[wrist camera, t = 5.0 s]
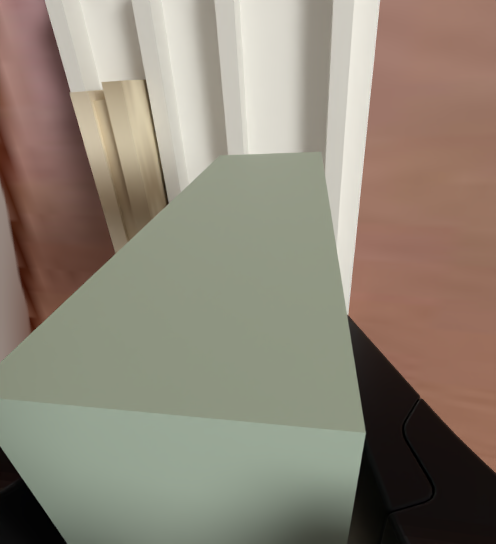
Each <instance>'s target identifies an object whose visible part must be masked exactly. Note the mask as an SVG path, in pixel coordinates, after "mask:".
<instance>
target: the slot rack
mask: <svg viewBox="0 0 496 544" xmlns="http://www.w3.org/2000/svg"><path fill="white" fill-rule="evenodd" d="M45 3H46V6H47V10H48V14H49V17H50V21H51V24H52V28H53V31H54V35H55V38H56V42H57V45H58V49H59V52H60V56H61V59H62V63H63V66H64V70H65V73H66V77H67V81H68V84H69V88H70V91H71V92H82V91H94V90H103V87H102V83H101V82H110V81H124V80H146V82H147V88H148V93H149V99H150V104H151V109H152V115H153V120H154V126H155V131H156V137H157V142H158V147H159V153H160V158H161V164H162V169H163V175H164V180H165V185H166V191H167V196H168V202H169V203H170V202H171V201H172V200H173V199H174V198H175V197H176V196H177V195H179V194H180V193H181V192H182V191H183V190H184V189H185V188H186V187H187V186H188V185H189V184H190V183H191V182H192V181H193V180H194V179H195V178H197V177H198V176H199V175H200V174H201V173H202V172H203V171H204V170H205V169H206V168H207V167H208V166H209V165H210V164H211V163H212V162H214V161H215V160H216V159H217V158H218V157H219V156H220V155H244V154H272V153H300V152H321V153H322V159H323V166H324V172H325V178H326V185H327V191H328V197H329V204H330V210H331V216H332V223H333V229H334V235H335V242H336V248H337V254H338V261H339V267H340V273H341V279H342V286H343V292H344V298H345V305H346V311H347V315H348V311H349V301H350V291H351V281H352V271H353V261H354V251H355V242H356V232H357V222H358V212H359V202H360V192H361V182H362V172H363V163H364V153H365V143H366V133H367V123H368V113H369V103H370V94H371V84H372V74H373V64H374V54H375V44H376V34H377V24H378V15H379V5H380V0H45Z"/></svg>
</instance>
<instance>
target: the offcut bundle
mask: <svg viewBox="0 0 496 544" xmlns="http://www.w3.org/2000/svg"><path fill="white" fill-rule="evenodd" d="M101 83H102V87H103V90H94V91H82V92H70V96H71V100H72V103H73V107H74V110H75V114H76V117H77V121H78V124H79V128H80V131H81V135H82V138H83V142H84V145H85V149H86V152H87V156H88V159H89V163H90V166H91V170H92V173H93V177H94V180H95V184H96V187H97V191H98V194H99V198H100V201H101V205H102V208H103V212H104V215H105V219H106V222H107V226H108V229H109V233H110V236H111V240H112V243H113V247H114V250H115V254H116V253H117V252H118V251H119V250H120V249H121V248H122V247H123V246H124V245H125V244H127V243H128V242H129V241H130V240H131V239H132V238H133V237H134V236H135V235H136V234H137V233H138V232H139V231H140V230H141V229H142V228H143V227H145V226H146V225H147V224H148V223H149V222H150V221H151V220H152V219H153V218H154V217H155V216H156V215H157V214H158V213H159V212H160V211H162V210H163V209H164V208H165V207H166V206H167V205H168V204H169V202H168V196H167V191H166V185H165V180H164V175H163V169H162V164H161V158H160V153H159V147H158V142H157V137H156V131H155V126H154V120H153V115H152V109H151V104H150V99H149V93H148V88H147V82H146V80H124V81H110V82H101Z"/></svg>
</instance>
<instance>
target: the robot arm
mask: <svg viewBox="0 0 496 544" xmlns="http://www.w3.org/2000/svg"><path fill="white" fill-rule="evenodd" d="M347 317H348V324H349V330H350V336H351V343H352V349H353V355H354V362H355V368H356V374H357V381H358V387H359V393H360V399H361V406H362V412H363V418H364V425H365V431H366V435H365V441H364V446H363V452H362V458H361V464H360V470H359V476H358V482H357V488H356V494H355V500H354V506H353V511H352V517H351V523H350V529H349V535H348V541H347V544H496V473H495V472H494V471H493V470H492V469H491V468H490V467H489V466H488V465H486V464H485V463H484V462H483V461H482V460H481V459H480V458H479V457H478V456H477V455H476V454H475V453H474V452H473V451H472V450H471V449H470V448H469V447H468V446H467V445H466V444H465V443H464V442H463V441H462V440H461V439H460V438H459V437H458V436H457V435H456V434H455V433H454V432H453V431H452V430H451V429H450V428H449V427H448V426H447V425H446V424H445V423H444V422H443V421H442V420H441V418H440V417H439V416H438V415H437V414H436V413H435V412H434V411H433V410H432V409H431V408H430V406H429V405H428V404H427V403H426V402H425V401H424V400H423V399H420V395H419V394H418V393H417V392H416V391H415V390H414V389H413V388H412V386H411V385H410V384H409V383H408V382H407V381H406V380H405V379H404V378H403V376H402V375H401V374H400V373H399V372H398V371H397V370H396V369H395V367H394V366H393V365H392V364H391V363H390V362H389V361H388V360H387V358H386V357H385V356H384V355H383V354H382V353H381V352H380V351H379V349H378V348H377V347H376V346H375V345H374V344H373V343H372V342H371V341H370V339H369V338H368V337H367V336H366V335H365V334H364V333H363V332H362V330H361V329H360V328H359V327H358V326H357V325H356V324H355V323H354V321H353V320H352V319H351V318H350V317H349V316H348V315H347ZM0 544H67V542H66V541H65V539H64V538H63V537H62V535H61V534H60V532H59V531H58V529H57V528H56V526H55V525H54V524H53V522H52V521H51V519H50V518H49V516H48V515H47V513H46V512H45V510H44V509H43V508H42V506H41V505H40V503H39V502H38V500H37V499H36V497H35V496H34V495H33V493H32V492H31V490H30V489H29V487H28V486H27V484H26V483H25V481H24V480H23V479H22V477H21V476H20V474H19V473H18V471H17V470H16V468H15V467H14V466H13V464H12V463H11V461H10V460H9V458H8V457H7V455H6V454H5V452H4V451H3V450H2V448H1V447H0Z"/></svg>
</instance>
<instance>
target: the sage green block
mask: <svg viewBox="0 0 496 544" xmlns="http://www.w3.org/2000/svg"><path fill="white" fill-rule="evenodd" d="M365 435H366V431H365V425H364V418H363V412H362V406H361V399H360V393H359V387H358V381H357V374H356V368H355V362H354V355H353V349H352V343H351V336H350V330H349V324H348V317H347V311H346V305H345V298H344V292H343V286H342V279H341V273H340V267H339V261H338V254H337V248H336V242H335V235H334V229H333V223H332V216H331V210H330V204H329V197H328V191H327V185H326V178H325V172H324V166H323V159H322V153H321V152H300V153H272V154H244V155H220V156H219V157H218V158H217V159H216V160H215V161H214V162H212V163H211V164H210V165H209V166H208V167H207V168H206V169H205V170H204V171H203V172H202V173H201V174H200V175H199V176H198V177H197V178H195V179H194V180H193V181H192V182H191V183H190V184H189V185H188V186H187V187H186V188H185V189H184V190H183V191H182V192H181V193H180V194H179V195H177V196H176V197H175V198H174V199H173V200H172V201H171V202H170V203H169V204H168V205H167V206H166V207H165V208H164V209H163V210H162V211H160V212H159V213H158V214H157V215H156V216H155V217H154V218H153V219H152V220H151V221H150V222H149V223H148V224H147V225H146V226H145V227H143V228H142V229H141V230H140V231H139V232H138V233H137V234H136V235H135V236H134V237H133V238H132V239H131V240H130V241H129V242H128V243H127V244H125V245H124V246H123V247H122V248H121V249H120V250H119V251H118V252H117V253H116V254H115V255H114V256H113V257H112V258H111V259H110V260H108V261H107V262H106V263H105V264H104V265H103V266H102V267H101V268H100V269H99V270H98V271H97V272H96V273H95V274H94V275H93V276H92V277H90V278H89V279H88V280H87V281H86V282H85V283H84V284H83V285H82V286H81V287H80V288H79V289H78V290H77V291H76V292H75V293H73V294H72V295H71V296H70V297H69V298H68V299H67V300H66V301H65V302H64V303H63V304H62V305H61V306H60V307H59V308H58V309H56V310H55V311H54V312H53V313H52V314H51V315H50V316H49V317H48V318H47V319H46V320H45V321H44V322H43V323H42V324H41V325H40V326H38V327H37V328H36V329H35V330H34V331H33V332H32V333H31V334H30V335H29V336H28V337H27V338H26V339H25V340H24V341H23V342H21V343H20V344H19V345H18V346H17V347H16V348H15V349H14V350H13V351H12V352H11V353H10V354H9V355H8V356H7V357H6V358H5V359H3V360H2V361H1V363H0V447H1V448H2V450H3V451H4V452H5V454H6V455H7V457H8V458H9V460H10V461H11V463H12V464H13V466H14V467H15V468H16V470H17V471H18V473H19V474H20V476H21V477H22V479H23V480H24V481H25V483H26V484H27V486H28V487H29V489H30V490H31V492H32V493H33V495H34V496H35V497H36V499H37V500H38V502H39V503H40V505H41V506H42V508H43V509H44V510H45V512H46V513H47V515H48V516H49V518H50V519H51V521H52V522H53V524H54V525H55V526H56V528H57V529H58V531H59V532H60V534H61V535H62V537H63V538H64V539H65V541H66V542H67V544H347V541H348V535H349V529H350V523H351V517H352V511H353V506H354V500H355V494H356V488H357V482H358V476H359V470H360V464H361V458H362V452H363V446H364V441H365Z"/></svg>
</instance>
